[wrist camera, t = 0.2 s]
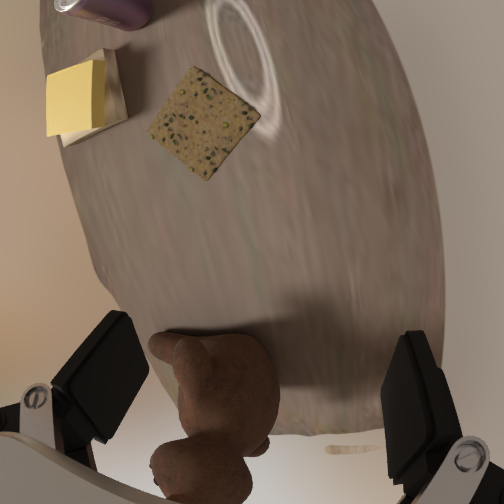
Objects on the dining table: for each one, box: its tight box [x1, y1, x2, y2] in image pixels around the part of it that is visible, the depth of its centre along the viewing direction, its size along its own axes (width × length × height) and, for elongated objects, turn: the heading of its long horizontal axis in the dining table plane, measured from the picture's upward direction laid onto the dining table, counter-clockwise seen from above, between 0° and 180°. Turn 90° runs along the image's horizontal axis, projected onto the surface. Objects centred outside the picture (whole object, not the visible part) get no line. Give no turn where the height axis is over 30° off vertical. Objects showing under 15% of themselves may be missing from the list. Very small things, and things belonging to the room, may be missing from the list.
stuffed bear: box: [148, 332, 280, 504], centre depth 38 cm, size 29×23×35 cm
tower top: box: [46, 60, 106, 136], centre depth 32 cm, size 10×10×3 cm
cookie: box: [147, 66, 260, 181], centre depth 36 cm, size 12×12×1 cm
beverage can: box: [54, 0, 152, 31], centre depth 23 cm, size 6×6×15 cm
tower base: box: [61, 48, 129, 147], centre depth 35 cm, size 12×12×3 cm
